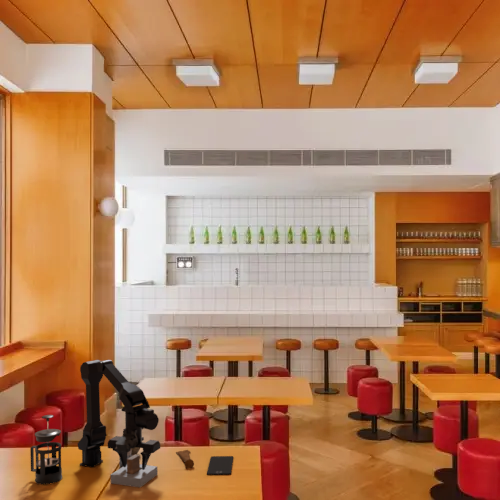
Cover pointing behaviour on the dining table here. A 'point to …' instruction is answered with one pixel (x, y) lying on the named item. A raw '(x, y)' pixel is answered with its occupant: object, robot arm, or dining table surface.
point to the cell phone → (220, 465)
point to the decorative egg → (134, 450)
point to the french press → (48, 465)
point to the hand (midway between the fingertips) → (134, 468)
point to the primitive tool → (186, 458)
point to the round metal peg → (127, 458)
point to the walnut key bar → (133, 464)
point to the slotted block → (134, 476)
